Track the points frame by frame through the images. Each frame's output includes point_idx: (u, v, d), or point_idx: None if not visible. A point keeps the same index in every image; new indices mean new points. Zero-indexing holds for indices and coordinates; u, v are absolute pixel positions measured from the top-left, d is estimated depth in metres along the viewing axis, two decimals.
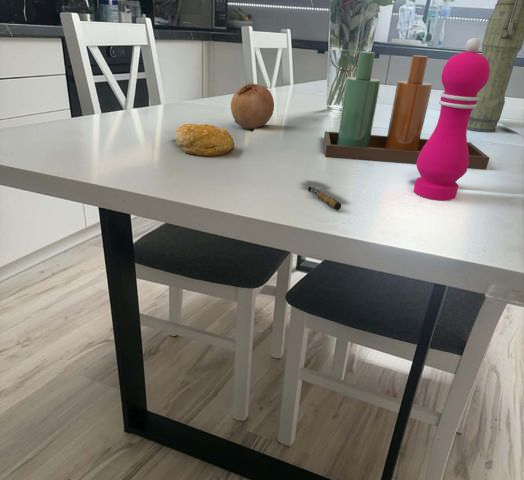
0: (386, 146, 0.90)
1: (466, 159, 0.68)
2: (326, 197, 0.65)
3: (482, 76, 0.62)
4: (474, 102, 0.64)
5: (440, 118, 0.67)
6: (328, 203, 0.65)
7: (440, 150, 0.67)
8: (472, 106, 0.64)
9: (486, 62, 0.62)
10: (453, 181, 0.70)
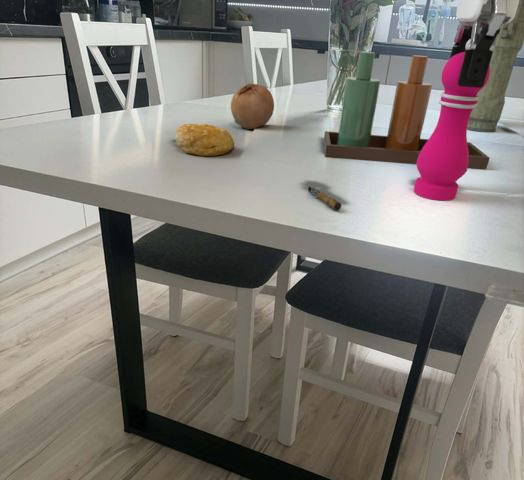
0: (386, 146, 0.90)
1: (466, 159, 0.68)
2: (326, 198, 0.65)
3: None
4: (474, 102, 0.64)
5: (440, 118, 0.67)
6: (328, 203, 0.65)
7: (440, 150, 0.67)
8: (472, 106, 0.64)
9: None
10: (453, 181, 0.70)
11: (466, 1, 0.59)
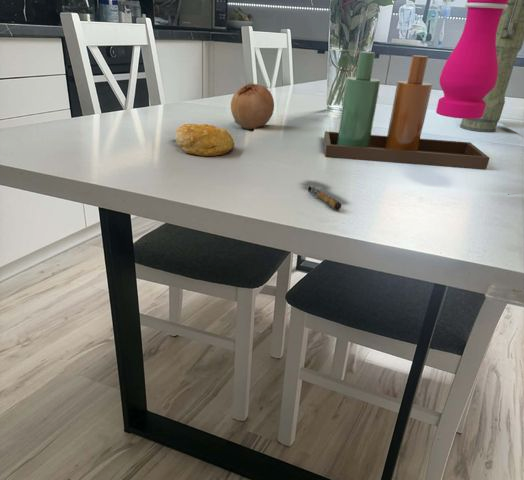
0: (386, 146, 0.90)
1: (495, 70, 0.62)
2: (326, 197, 0.65)
3: None
4: (505, 1, 0.58)
5: (467, 23, 0.61)
6: (328, 203, 0.65)
7: (467, 59, 0.61)
8: (503, 5, 0.58)
9: None
10: (481, 96, 0.64)
11: None
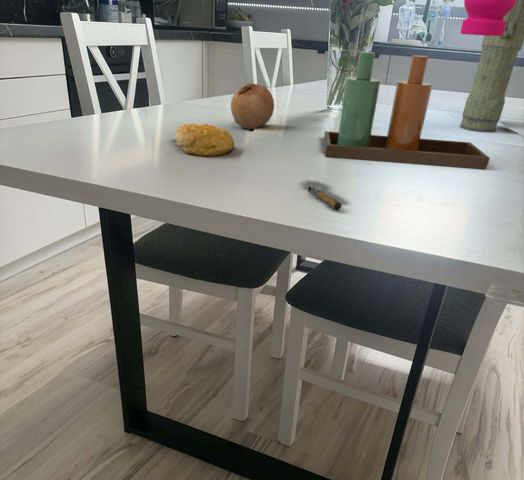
0: (386, 146, 0.90)
1: None
2: (326, 197, 0.65)
3: None
4: None
5: None
6: (328, 203, 0.65)
7: None
8: None
9: None
10: (502, 14, 0.71)
11: None
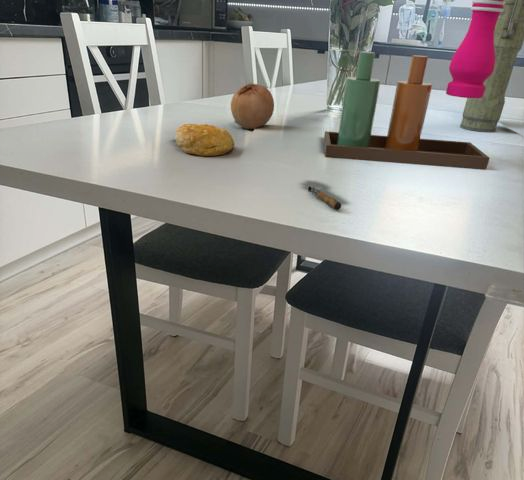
0: (386, 146, 0.90)
1: (493, 59, 0.79)
2: (326, 197, 0.65)
3: None
4: (501, 6, 0.76)
5: (471, 23, 0.78)
6: (328, 203, 0.65)
7: (471, 50, 0.78)
8: (500, 9, 0.76)
9: None
10: (481, 80, 0.81)
11: None
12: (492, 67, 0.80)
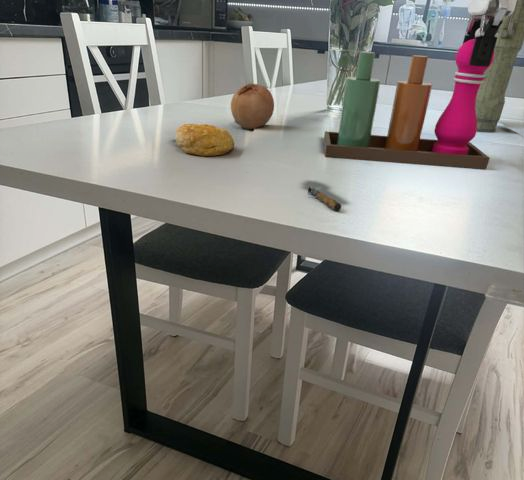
0: (386, 146, 0.90)
1: (475, 125, 0.85)
2: (326, 198, 0.65)
3: None
4: (482, 79, 0.81)
5: (454, 92, 0.84)
6: (328, 204, 0.65)
7: (454, 118, 0.84)
8: (480, 82, 0.81)
9: None
10: (464, 143, 0.87)
11: None
12: (474, 132, 0.86)
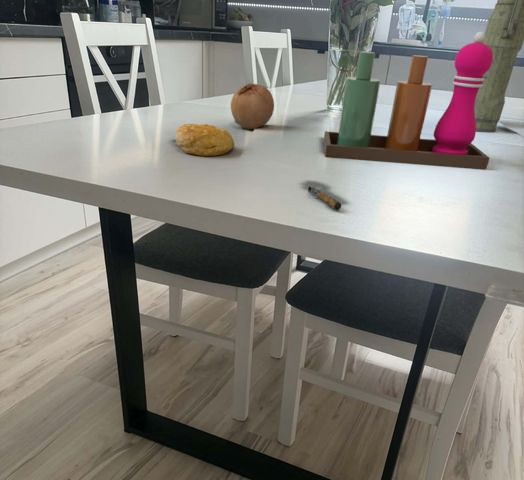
0: (386, 146, 0.90)
1: (474, 128, 0.85)
2: (326, 197, 0.65)
3: (487, 62, 0.79)
4: (480, 82, 0.82)
5: (453, 96, 0.84)
6: (328, 203, 0.65)
7: (454, 121, 0.84)
8: (479, 85, 0.82)
9: (490, 50, 0.79)
10: (463, 147, 0.87)
11: None
12: (473, 135, 0.86)
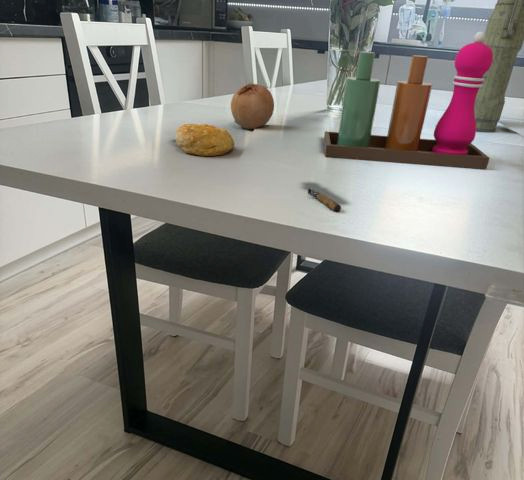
0: (386, 146, 0.90)
1: (474, 128, 0.85)
2: (326, 200, 0.65)
3: (487, 62, 0.79)
4: (480, 82, 0.82)
5: (453, 95, 0.84)
6: (327, 205, 0.65)
7: (454, 121, 0.84)
8: (479, 85, 0.82)
9: (490, 50, 0.79)
10: (463, 147, 0.87)
11: None
12: (473, 135, 0.86)
